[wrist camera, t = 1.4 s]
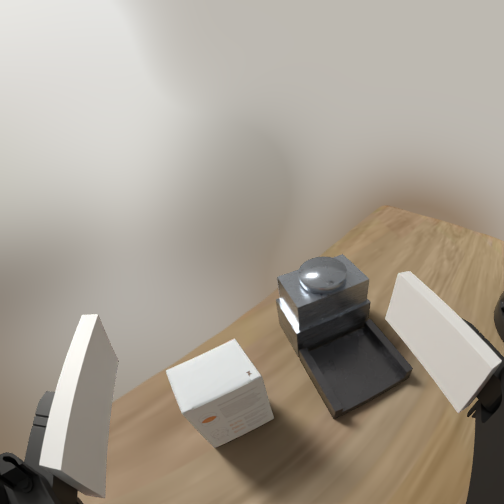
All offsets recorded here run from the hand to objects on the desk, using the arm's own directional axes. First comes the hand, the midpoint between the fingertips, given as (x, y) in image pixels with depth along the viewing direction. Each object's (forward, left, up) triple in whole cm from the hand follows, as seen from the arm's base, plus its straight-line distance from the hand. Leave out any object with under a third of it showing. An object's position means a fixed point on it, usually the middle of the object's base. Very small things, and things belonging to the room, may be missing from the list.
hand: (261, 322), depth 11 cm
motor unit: (-12, -12, -23) cm, 29 cm away
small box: (+4, -8, -24) cm, 25 cm away
